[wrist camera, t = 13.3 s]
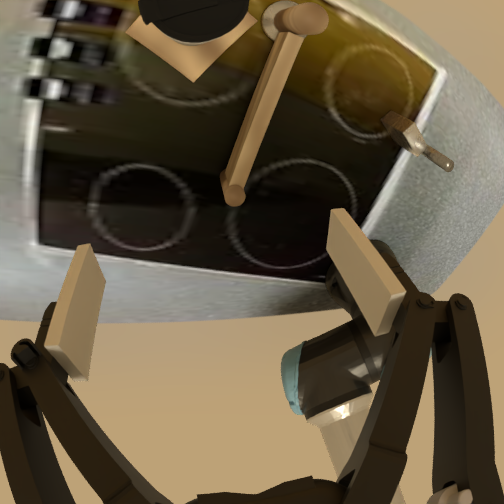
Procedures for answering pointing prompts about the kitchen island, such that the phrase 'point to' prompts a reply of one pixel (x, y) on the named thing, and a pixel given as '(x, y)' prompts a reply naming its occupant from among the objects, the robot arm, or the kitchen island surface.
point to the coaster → (186, 57)
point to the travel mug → (193, 18)
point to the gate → (269, 92)
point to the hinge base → (269, 15)
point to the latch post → (413, 139)
